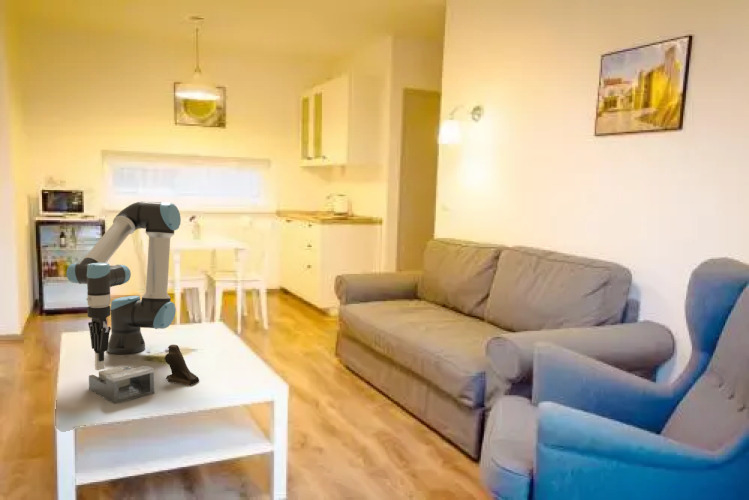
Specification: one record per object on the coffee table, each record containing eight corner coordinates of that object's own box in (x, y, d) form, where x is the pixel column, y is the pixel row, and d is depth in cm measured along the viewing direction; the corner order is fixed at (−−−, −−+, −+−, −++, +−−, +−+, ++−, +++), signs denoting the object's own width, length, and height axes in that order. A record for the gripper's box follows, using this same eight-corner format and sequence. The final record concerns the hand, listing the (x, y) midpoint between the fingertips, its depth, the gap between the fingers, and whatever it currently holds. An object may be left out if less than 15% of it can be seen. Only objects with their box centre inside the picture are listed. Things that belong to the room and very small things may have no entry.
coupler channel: (89, 389, 203) (88, 365, 202) (127, 380, 214) (127, 357, 213) (114, 403, 191) (113, 378, 190) (154, 393, 202) (153, 368, 201)
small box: (98, 385, 205) (97, 371, 204) (119, 379, 211) (119, 366, 210) (108, 390, 200) (108, 376, 199) (130, 385, 206) (130, 371, 205)
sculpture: (172, 376, 220) (171, 342, 218) (200, 381, 215) (199, 346, 213) (161, 381, 215) (161, 346, 213) (189, 386, 210) (189, 350, 208)
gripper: (80, 304, 211) (81, 367, 213) (96, 309, 202) (97, 375, 205) (101, 301, 217) (102, 363, 219) (117, 307, 208) (118, 370, 210)
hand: (99, 369), depth 212 cm, fingers closed
